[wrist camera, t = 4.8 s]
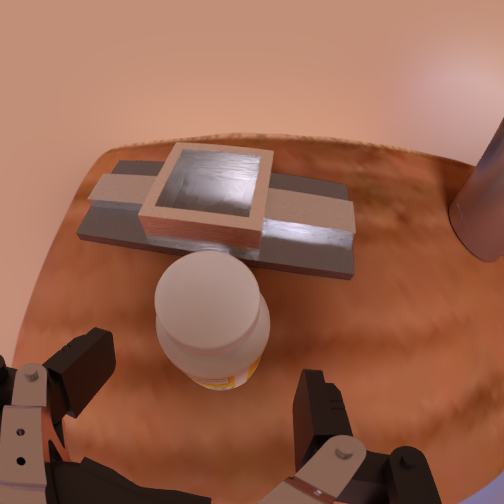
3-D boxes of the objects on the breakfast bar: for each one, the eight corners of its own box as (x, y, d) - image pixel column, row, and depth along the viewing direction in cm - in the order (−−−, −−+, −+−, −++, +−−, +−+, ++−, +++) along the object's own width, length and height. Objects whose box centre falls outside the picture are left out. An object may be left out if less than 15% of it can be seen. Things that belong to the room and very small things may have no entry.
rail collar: (344, 191, 27) (355, 161, 24) (350, 280, 22) (368, 253, 18) (122, 167, 28) (112, 139, 25) (80, 239, 23) (62, 212, 19)
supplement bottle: (205, 404, 16) (170, 394, 8) (169, 336, 19) (118, 270, 10) (275, 366, 18) (307, 320, 10) (235, 303, 20) (233, 217, 12)
